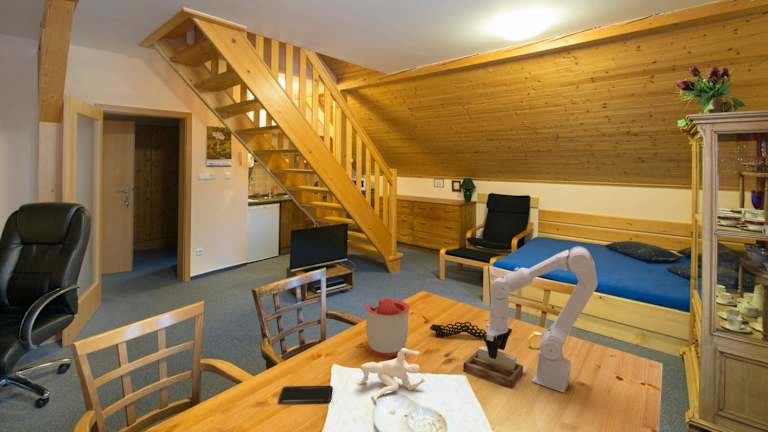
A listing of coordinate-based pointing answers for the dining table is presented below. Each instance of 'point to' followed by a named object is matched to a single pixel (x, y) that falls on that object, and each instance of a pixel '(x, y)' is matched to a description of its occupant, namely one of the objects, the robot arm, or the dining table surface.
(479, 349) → the clay strip
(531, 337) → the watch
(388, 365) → the person figurine
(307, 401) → the phone
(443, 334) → the decorative element
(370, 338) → the citrus juicer
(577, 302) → the robot arm
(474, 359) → the rack
